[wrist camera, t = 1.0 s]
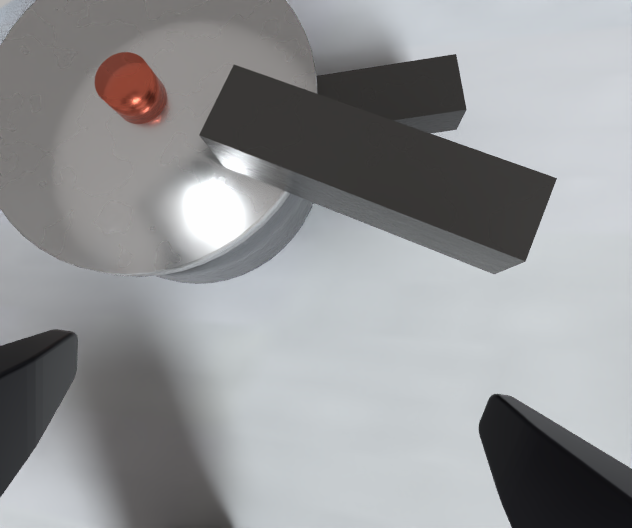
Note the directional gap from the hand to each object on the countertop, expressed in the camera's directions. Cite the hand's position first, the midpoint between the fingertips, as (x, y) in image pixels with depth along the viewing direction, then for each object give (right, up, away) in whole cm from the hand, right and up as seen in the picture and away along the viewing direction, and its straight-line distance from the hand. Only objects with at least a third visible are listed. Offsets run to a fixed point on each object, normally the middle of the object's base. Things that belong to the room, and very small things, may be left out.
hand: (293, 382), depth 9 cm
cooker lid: (-3, +8, +10) cm, 13 cm away
